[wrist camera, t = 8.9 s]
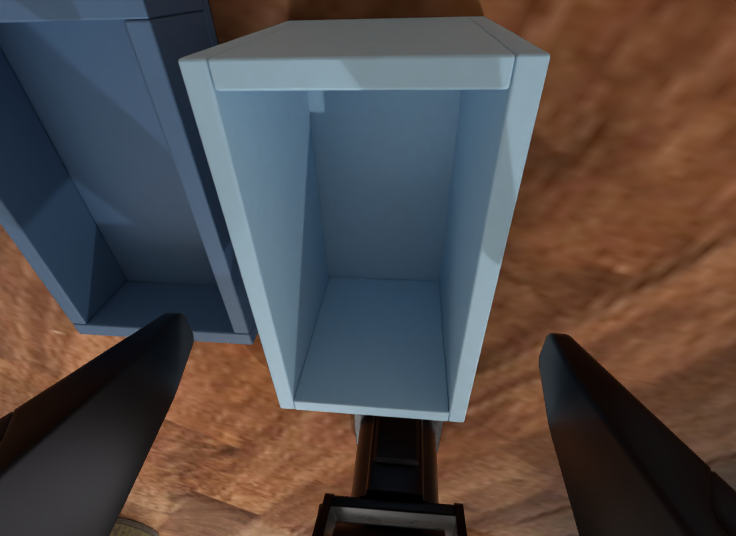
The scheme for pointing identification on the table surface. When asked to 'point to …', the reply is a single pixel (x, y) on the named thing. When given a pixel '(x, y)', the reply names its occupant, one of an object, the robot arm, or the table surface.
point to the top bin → (369, 198)
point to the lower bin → (115, 166)
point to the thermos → (131, 529)
